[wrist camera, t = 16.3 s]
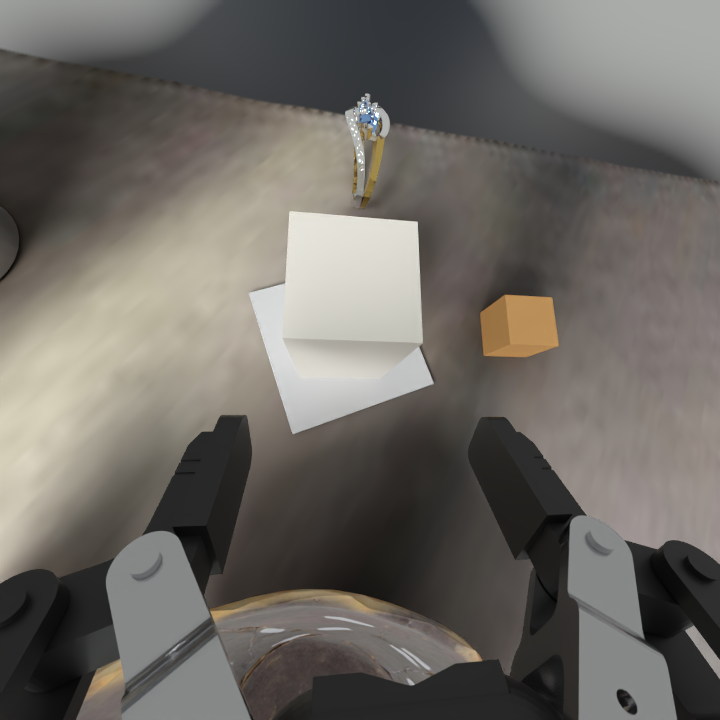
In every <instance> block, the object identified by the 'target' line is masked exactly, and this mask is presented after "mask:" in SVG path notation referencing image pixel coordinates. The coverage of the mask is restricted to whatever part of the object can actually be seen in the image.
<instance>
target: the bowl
mask: <svg viewBox="0 0 720 720" xmlns="http://www.w3.org/2000/svg"><path fill="white" fill-rule="evenodd" d="M210 612H211V614H212V617H213V619H214V622H215V624H216V627H217V629H218V632H219V634H220V637H221V639H222V642H223V644H224V647H225V649H226V652H227V654H228V657H229V659H230V662H231V664H232V666H233V669H234V671H235V674H236V676H237V678H238V681H239V683H240V681H241V679H242V677H243V676H244V675H245V674H246V675H245V677H244V679H243V682H242V684H241V688H242V691H243V693H244V695H245V698H246V700H247V703H248V705H249V708H250V710H251V713H252V715H253V718H254V720H272V719H273V717H274V716H275V715H276V714H277V713H278V712H279V711H280V710H281V709H282V708H283V707H284V706H286V705H287V704H288V703H289V702H290V701H292V700H293V699H295V698H296V697H297V696H299V695H300V694H302V693H304V692H306V691H308V690H310V689H312V687H313V677H316V676H327V675H337V674H348V673H359V672H362V673H365V674H369V675H373V676H376V677H380V678H383V679H387V680H391V681H394V682H398V683H402V684H405V685H415V684H417V683H419V682H421V681H423V680H425V679H427V678H429V677H431V676H433V675H434V674H436V673H438V672H440V671H442V670H444V669H446V668H448V667H450V666H451V665H453V664H455V663H466V662H476V661H483V660H482V659H481V657H480V655H479V654H478V653H477V652H476V651H475V650H474V649H473V648H472V647H471V646H470V645H469V644H468V643H467V642H466V641H465V640H464V639H463V638H462V637H460V636H459V635H457V634H456V633H454V632H453V631H451V630H450V629H448V628H447V627H445V626H444V625H442V624H441V623H438V622H436V621H434V620H432V619H429V618H427V617H425V616H423V615H420V614H418V613H415V612H413V611H410V610H408V609H405V608H402V607H400V606H397V605H395V604H392V603H389V602H386V601H382V600H379V599H376V598H372V597H369V596H365V595H361V594H356V593H350V592H344V591H338V590H328V589H299V590H289V591H280V592H275V593H269V594H264V595H259V596H254V597H249V598H246V599H243V600H240V601H236V602H233V603H229V604H226V605H222V606H218V607H215V608H211V609H210ZM124 693H125V681H124V675H123V670H122V665H121V660H120V659H118V660H116V661H114V662H111V663H109V664H107V665H105V666H103V667H101V668H99V669H98V670H96V672H95V675H94V677H93V680H92V682H91V684H90V687H89V689H88V692H87V694H86V697H85V699H84V701H83V704H82V706H81V709H80V711H79V714H78V716H77V718H76V720H122V716H121V700H122V696H123V695H124Z"/></svg>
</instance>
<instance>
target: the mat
mask: <svg viewBox="0 0 720 720" xmlns="http://www.w3.org/2000/svg"><path fill="white" fill-rule="evenodd" d="M249 296H250V299H251V302H252V305H253V308H254V312H255V315H256V318H257V321H258V325H259V328H260V331H261V334H262V337H263V341H264V344H265V347H266V350H267V354H268V357H269V360H270V363H271V366H272V370H273V373H274V376H275V379H276V383H277V386H278V389H279V392H280V395H281V399H282V402H283V405H284V408H285V412H286V415H287V418H288V421H289V424H290V428H291V431H292V434H295V433H298V432H301V431H304V430H307V429H309V428H312V427H315V426H318V425H320V424H323V423H326V422H329V421H332V420H334V419H337V418H340V417H343V416H345V415H348V414H351V413H354V412H357V411H359V410H362V409H365V408H368V407H370V406H373V405H376V404H379V403H382V402H384V401H387V400H390V399H393V398H395V397H398V396H401V395H404V394H407V393H409V392H412V391H415V390H418V389H420V388H423V387H426V386H429V385H432V384H434V383H433V380H432V378H431V375H430V373H429V370H428V368H427V365H426V363H425V360H424V358H423V355H422V353H421V350H420V348H419V347H417V348H416V349H415V350H414V351H413V352H411V353H410V354H409V355H408V356H407V357H405V358H404V359H403V360H402V361H401V362H400V363H398V364H397V365H396V366H395V367H394V368H392V369H391V370H390V371H389V372H388V373H386V374H385V375H384V376H383V377H382V378H380V379H355V378H307V377H300V376H299V374H298V372H297V370H296V368H295V365H294V363H293V361H292V359H291V357H290V354H289V352H288V350H287V348H286V345H285V343H284V341H283V339H282V332H283V315H284V298H285V283H284V284H280V285H277V286H273V287H269V288H265V289H262V290H258V291H254V292H250V293H249Z"/></svg>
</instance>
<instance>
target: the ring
mask: <svg viewBox="0 0 720 720" xmlns="http://www.w3.org/2000/svg"><path fill="white" fill-rule="evenodd" d="M377 104H378V103H373V104H371V103H370V95H369V94H366V95H365V97H362V98H361V102H358V106H357V107H350V109H349V110H347V111H346V113H345V115H346V120H347V123H348V126H349V128H350V131H351V135H352V138H353V142H354V179H353V190H352V197H353V208H358V209H364V208H365V207H366V205H367V203H368V201H369V199H370V196H371V194H372V191H373V188H374V185H375V182H376V179H377V175H378V171H379V167H380V163H381V158H382V153H383V147H384V140H385V137H386V135H387V134H388V132H389V128H390V121H389V118H388V115H387V114H386V112H385V111H384V110H383V109H382V108H381V107H380V106H378V105H377ZM377 124H379V126H380V131H379V132H378V133H375V132H376V128H377ZM359 128H361V130H360V133H359ZM365 139H366V140H368V139H370V140H372V141H374V142H373V152H372V161H371V167H370V172H369V176H368V180H367V183H366V187H365V189H364V180H365V157H364V146H365ZM363 190H364V192H363Z"/></svg>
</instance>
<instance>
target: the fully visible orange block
mask: <svg viewBox="0 0 720 720" xmlns="http://www.w3.org/2000/svg"><path fill="white" fill-rule="evenodd" d="M480 317H481V329H482V341H483V353H484V356H504V357H528V356H531V355H534V354H537V353H540V352H543V351H546V350H549V349H551V348H554V347H557V346H559V343H558V336H557V329H556V322H555V314H554V307H553V300H552V297H535V296H518V295H504V296H503V297H501V298H500V299H499V300H497V301H496V302H494V303H493V304H492V305H490V306H489V307H488V308H486V309H485V310H483V311H482V312H481V313H480Z"/></svg>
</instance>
